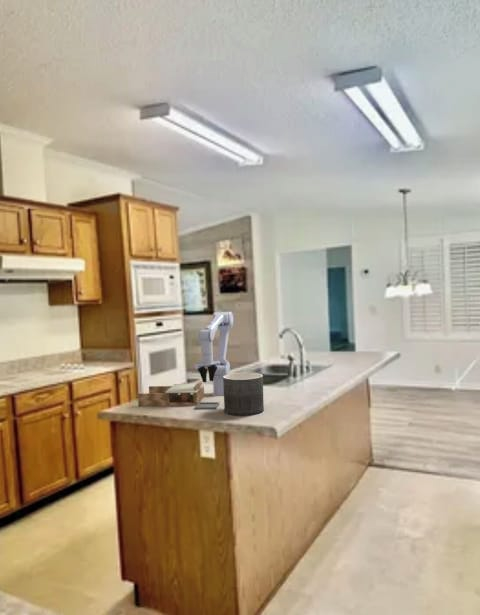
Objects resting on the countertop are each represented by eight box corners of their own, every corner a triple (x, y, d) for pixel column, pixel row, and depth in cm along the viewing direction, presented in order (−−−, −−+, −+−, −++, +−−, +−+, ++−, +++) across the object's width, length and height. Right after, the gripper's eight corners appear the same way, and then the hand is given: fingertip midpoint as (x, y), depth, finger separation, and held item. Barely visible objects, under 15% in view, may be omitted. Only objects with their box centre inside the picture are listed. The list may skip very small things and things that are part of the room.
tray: (219, 404, 233) (219, 402, 233) (216, 409, 223) (216, 407, 223) (198, 404, 234) (198, 402, 234) (194, 409, 224) (194, 407, 224)
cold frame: (204, 397, 250) (203, 385, 250) (197, 405, 232) (196, 393, 232) (149, 397, 253) (149, 386, 253) (138, 406, 235) (138, 393, 235)
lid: (203, 385, 250) (203, 380, 250) (196, 392, 232) (196, 387, 231) (174, 385, 252) (174, 380, 252) (165, 393, 233) (165, 388, 233)
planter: (250, 417, 207) (249, 380, 207) (216, 413, 217) (215, 378, 216) (270, 408, 222) (269, 374, 222) (237, 404, 232) (236, 371, 231)
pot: (192, 399, 244) (191, 389, 244) (189, 402, 239) (189, 392, 239) (181, 399, 245) (181, 389, 245) (179, 402, 239) (178, 392, 239)
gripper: (213, 351, 248) (214, 378, 248) (190, 354, 238) (191, 382, 238) (222, 352, 242) (223, 380, 243) (198, 356, 233) (199, 384, 233)
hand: (207, 381), depth 240 cm, fingers open, 4 cm apart
